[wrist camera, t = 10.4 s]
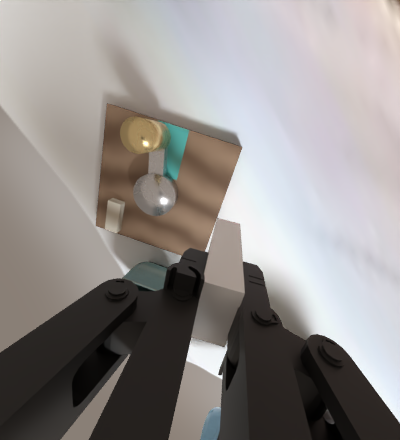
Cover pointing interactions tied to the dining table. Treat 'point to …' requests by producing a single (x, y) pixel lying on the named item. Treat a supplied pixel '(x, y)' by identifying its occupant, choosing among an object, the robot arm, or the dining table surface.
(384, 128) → the dining table surface
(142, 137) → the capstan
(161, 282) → the flower pot
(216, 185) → the base plate
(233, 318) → the robot arm
